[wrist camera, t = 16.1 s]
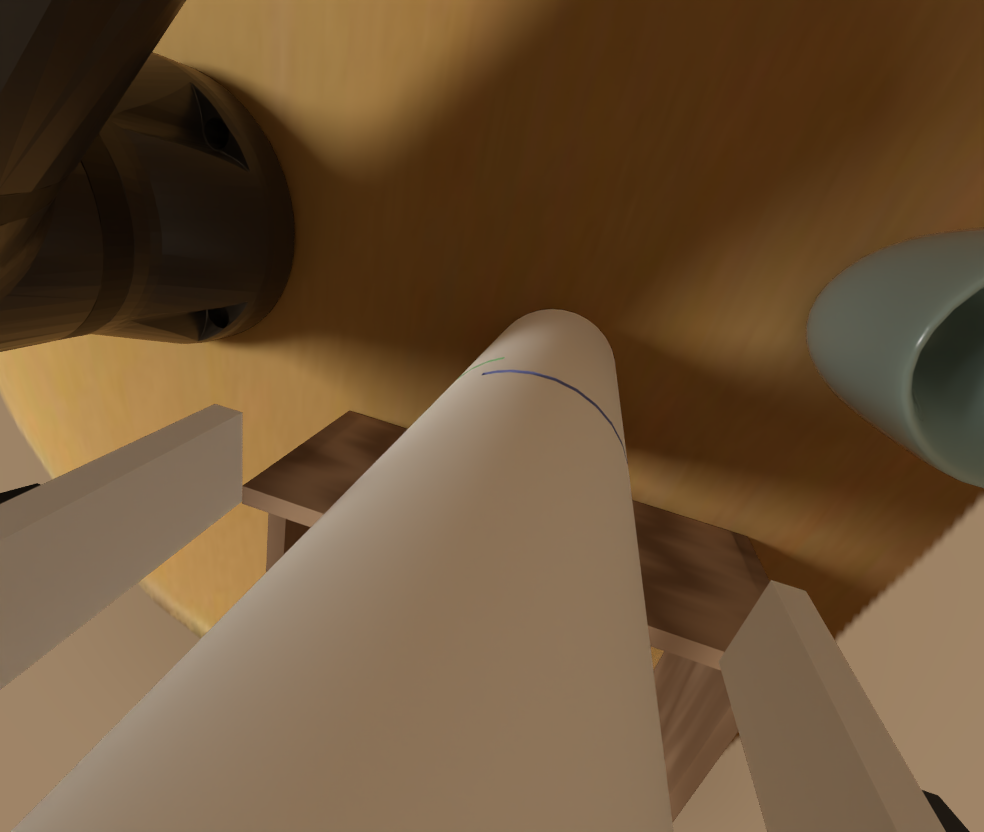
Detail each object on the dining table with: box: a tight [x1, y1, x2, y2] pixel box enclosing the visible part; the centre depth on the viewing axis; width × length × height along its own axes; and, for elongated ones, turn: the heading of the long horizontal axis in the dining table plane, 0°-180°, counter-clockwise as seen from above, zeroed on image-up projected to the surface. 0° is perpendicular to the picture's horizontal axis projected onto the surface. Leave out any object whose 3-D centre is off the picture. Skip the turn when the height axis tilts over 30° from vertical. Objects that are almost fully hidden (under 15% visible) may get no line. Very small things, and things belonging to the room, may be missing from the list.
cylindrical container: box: [11, 309, 673, 832], centre depth 15 cm, size 7×7×25 cm
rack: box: [242, 411, 770, 823], centre depth 28 cm, size 26×17×10 cm, turn 76°
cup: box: [806, 227, 984, 488], centre depth 18 cm, size 8×8×10 cm
